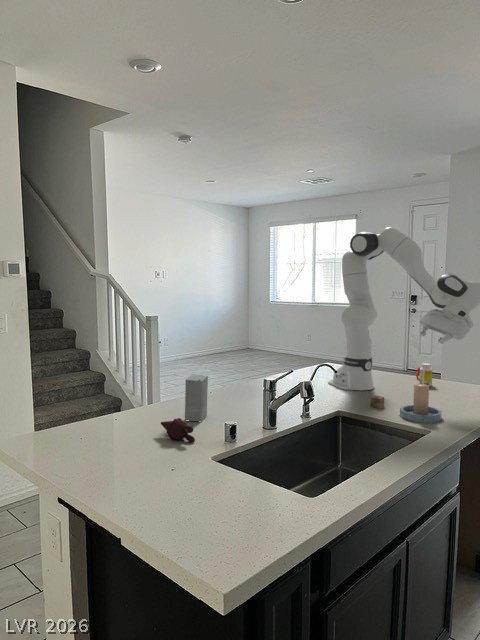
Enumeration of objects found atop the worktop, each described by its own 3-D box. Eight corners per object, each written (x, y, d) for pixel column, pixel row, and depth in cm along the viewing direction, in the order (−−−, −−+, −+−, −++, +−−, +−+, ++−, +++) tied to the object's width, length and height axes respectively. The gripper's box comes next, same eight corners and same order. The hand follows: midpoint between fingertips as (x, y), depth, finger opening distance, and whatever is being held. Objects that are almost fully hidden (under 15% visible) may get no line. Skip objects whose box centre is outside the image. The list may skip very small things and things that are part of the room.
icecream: (150, 418, 152) (183, 432, 143) (167, 408, 158) (200, 420, 148) (154, 437, 155) (186, 451, 145) (170, 426, 160) (202, 439, 151)
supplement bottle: (434, 385, 224) (434, 364, 223) (428, 387, 220) (428, 365, 219) (423, 383, 228) (423, 362, 227) (417, 385, 225) (417, 363, 224)
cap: (411, 372, 239) (417, 367, 234) (419, 367, 242) (425, 362, 237) (420, 385, 237) (427, 381, 232) (428, 380, 240) (435, 376, 234)
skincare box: (191, 415, 178) (190, 373, 176) (209, 416, 176) (208, 374, 175) (183, 422, 170) (183, 378, 168) (202, 423, 168) (202, 379, 167)
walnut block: (370, 407, 187) (370, 397, 187) (374, 405, 190) (374, 395, 190) (380, 409, 185) (380, 399, 184) (384, 406, 188) (384, 397, 188)
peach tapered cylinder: (410, 414, 175) (410, 384, 174) (419, 411, 177) (419, 383, 176) (422, 417, 170) (423, 387, 169) (431, 415, 173) (432, 385, 172)
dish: (392, 415, 176) (392, 408, 176) (417, 409, 183) (417, 403, 183) (424, 425, 164) (424, 418, 164) (449, 418, 171) (449, 411, 171)
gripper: (430, 302, 196) (408, 325, 194) (472, 315, 178) (448, 341, 177) (436, 313, 199) (414, 335, 197) (477, 326, 181) (453, 352, 180)
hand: (430, 338), depth 187 cm, fingers open, 8 cm apart
